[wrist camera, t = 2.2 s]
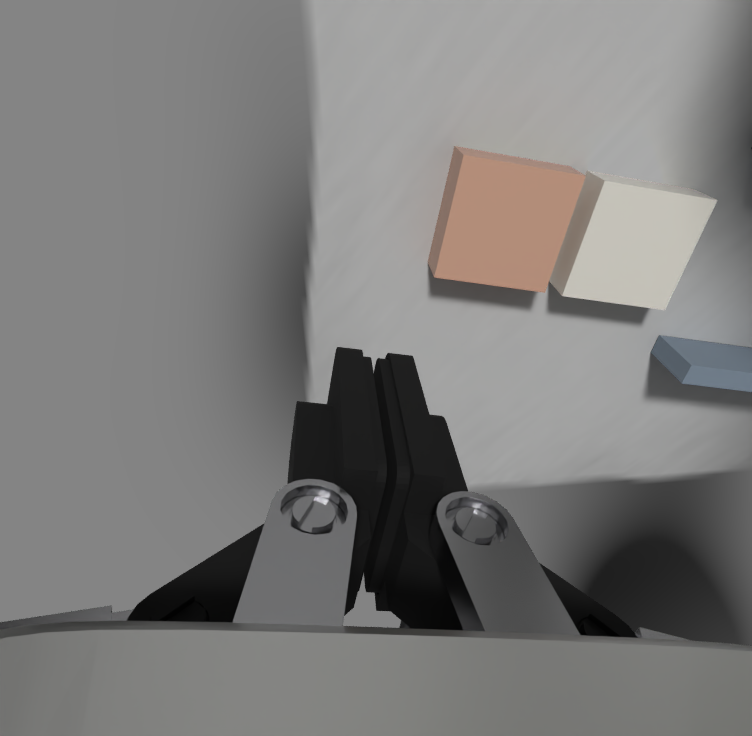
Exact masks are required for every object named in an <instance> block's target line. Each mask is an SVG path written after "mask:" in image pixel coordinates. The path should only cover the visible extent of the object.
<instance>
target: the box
mask: <svg viewBox="0 0 752 736" xmlns="http://www.w3.org/2000/svg"><path fill="white" fill-rule="evenodd" d="M751 149H752V148H751ZM651 353H652V354H653V355H654V356H655V357H656V358H657V359H658V360H659V361H660V362H661V363H662V364H663V365H664V366H665V367H666V368H667V369H668V370H669V371H670V372H671V373H672V374H673V375H674V376H675V377H676V378H677V379H678V380H679V381H680V382H681V383H682V384H690V385H698V386H706V387H715V388H723V389H731V390H739V391H747V392H752V348H749V347H741V346H734V345H727V344H719V343H712V342H705V341H697V340H690V339H683V338H675V337H668V336H661V335H659V337H658V339H657V341H656V343H655V345H654V347H653V349H652V351H651Z"/></svg>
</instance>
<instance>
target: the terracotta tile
mask: <svg viewBox="0 0 752 736" xmlns="http://www.w3.org/2000/svg"><path fill="white" fill-rule="evenodd" d="M585 177H586V176H585V175H584V174H582V173H580V172H578V171H577V170H575V169H573V168H572V167H570V166H566V165H560V164H554V163H549V162H543V161H537V160H531V159H526V158H520V157H514V156H509V155H503V154H497V153H491V152H486V151H480V150H474V149H468V148H463V147H457V146H454V150H453V155H452V159H451V163H450V168H449V172H448V176H447V181H446V185H445V189H444V194H443V198H442V202H441V207H440V211H439V215H438V220H437V224H436V228H435V233H434V237H433V241H432V246H431V250H430V254H429V259H428V264H429V266H430V269H431V271H432V273H433V276H434V278H442V279H449V280H456V281H464V282H471V283H478V284H486V285H493V286H500V287H507V288H515V289H522V290H529V291H537V292H544V293H545V291H546V288H547V285H548V283H549V280H550V277H551V274H552V271H553V268H554V266H555V263H556V260H557V257H558V254H559V251H560V248H561V246H562V243H563V240H564V237H565V234H566V231H567V228H568V226H569V223H570V220H571V217H572V214H573V211H574V209H575V206H576V203H577V200H578V197H579V194H580V191H581V189H582V186H583V183H584V180H585Z"/></svg>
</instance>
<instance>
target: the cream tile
mask: <svg viewBox="0 0 752 736" xmlns="http://www.w3.org/2000/svg"><path fill="white" fill-rule="evenodd" d="M585 176H586V177H585V180H584V183H583V186H582V189H581V191H580V194H579V197H578V200H577V203H576V206H575V209H574V211H573V214H572V217H571V220H570V223H569V226H568V228H567V231H566V234H565V237H564V240H563V243H562V246H561V248H560V251H559V254H558V257H557V260H556V263H555V266H554V268H553V271H552V274H551V277H550V280H549V281H550V283H551V284H552V285H553V286H554V287H555V288H556V290H557V291H558V292H559V293H560V294H561V295H562V296H565V297H572V298H580V299H587V300H594V301H602V302H609V303H616V304H624V305H631V306H638V307H646V308H653V309H660V310H665V309H666V307H667V305H668V303H669V301H670V299H671V296H672V294H673V292H674V290H675V288H676V286H677V284H678V282H679V280H680V278H681V276H682V274H683V271H684V269H685V267H686V265H687V263H688V261H689V259H690V257H691V255H692V253H693V251H694V248H695V246H696V244H697V242H698V240H699V238H700V236H701V234H702V232H703V230H704V228H705V225H706V223H707V221H708V219H709V217H710V215H711V213H712V211H713V209H714V207H715V205H716V203H717V200H716V199H714V198H712V197H710V196H707V195H705V194H703V193H701V192H699V191H696V190H694V189H690V188H684V187H679V186H673V185H667V184H661V183H656V182H650V181H644V180H638V179H633V178H627V177H621V176H616V175H610V174H604V173H598V172H593V171H587V172H586V175H585Z"/></svg>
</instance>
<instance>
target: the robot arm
mask: <svg viewBox="0 0 752 736" xmlns="http://www.w3.org/2000/svg"><path fill="white" fill-rule="evenodd" d="M363 573H364V578H365V589H366V592H374V593H375V601H376V610H377V611H391V612H392V613H393V614H395V615H396V616H397V617H398V618H399V619H401V624H400V628H382V627H354V626H343V620H344V616H345V615H346V614H347V613H348V612H349V611H350V610H351V609H353V608H354V604H355V600H356V596H357V592H358V591H359V588H360V585H361V581H362V577H363ZM0 736H752V646H748V645H738V644H729V643H716V642H700V641H691V640H688V639H684V638H680V637H676V636H672V635H668V634H664V633H660V632H656V631H652V630H649V629H645V628H641V627H639V629H638V630H637V631H636V633H634V632H633V631H632V630H631V628H630V627H629V626H628V625H627V624H626V623H624V622H623V621H622V620H621V619H620V618H619V617H617V616H616V615H615V614H613V613H612V612H610V611H609V610H607V609H606V608H605V607H603V606H602V605H600V604H598V603H597V602H596V601H594V600H593V599H591V598H590V597H588V596H587V595H585V594H584V593H582V592H581V591H580V590H578V589H577V588H575V587H574V586H572V585H571V584H569V583H568V582H566V581H565V580H564V579H562V578H561V577H559V576H558V575H556V574H555V573H553V572H552V571H550V570H549V569H547V568H546V567H545V566H543V565H542V564H540V563H539V562H538V560H537V559H536V557H535V555H534V553H533V552H532V550H531V548H530V547H529V545H528V543H527V541H526V539H525V538H524V536H523V534H522V532H521V531H520V529H519V527H518V526H517V524H516V522H515V520H514V519H513V517H512V516H511V515H510V513H509V512H508V511H507V509H505V508H504V507H503V506H502V505H501V504H499V503H498V502H497V501H495V500H493V499H491V498H489V497H487V496H485V495H482V494H478V493H475V492H468V489H467V486H466V483H465V480H464V477H463V474H462V470H461V467H460V464H459V461H458V458H457V455H456V451H455V448H454V445H453V442H452V439H451V436H450V433H449V429H448V426H447V423H446V421H445V418H444V417H442V416H437V415H429V412H428V408H427V405H426V401H425V398H424V394H423V390H422V387H421V383H420V380H419V376H418V372H417V369H416V365H415V362H414V358H413V356H409V355H401V354H392V353H388V354H387V355H386V358H385V359H380V358H378V359H377V361H376V365H375V369H374V374H373V367H372V361H371V357H363V352H362V350H359V349H350V348H342V347H337V349H336V353H335V359H334V365H333V371H332V377H331V383H330V389H329V395H328V401H327V404H319V403H310V402H300V401H297V404H296V410H295V417H294V426H293V433H292V441H291V450H290V460H289V472H288V484H287V485H285V486H283V487H282V488H281V489H280V490H279V491H277V493H276V494H275V496H274V498H273V499H272V502H271V505H270V508H269V511H268V514H267V517H266V520H265V523H264V524H263V525H261V526H259V527H258V528H256V529H255V530H253V531H251V532H250V533H248V534H246V535H245V536H243V537H242V538H240V539H238V540H237V541H235V542H234V543H232V544H230V545H229V546H227V547H226V548H224V549H222V550H221V551H219V552H217V553H216V554H214V555H213V556H211V557H209V558H208V559H206V560H205V561H203V562H201V563H200V564H198V565H197V566H195V567H193V568H192V569H190V570H188V571H187V572H185V573H184V574H182V575H180V576H179V577H177V578H176V579H174V580H172V581H171V582H169V583H167V584H166V585H164V586H163V587H161V588H159V589H158V590H156V591H155V592H153V593H151V594H150V595H149V596H147V597H146V598H145V599H144V600H143V601H141V602H140V603H139V604H138V605H137V606H136V607H135V609H132V610H126V611H119V612H114V613H112V606H104V607H97V608H91V609H84V610H78V611H71V612H65V613H58V614H52V615H45V616H39V617H32V618H25V619H19V620H13V621H6V622H0Z"/></svg>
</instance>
